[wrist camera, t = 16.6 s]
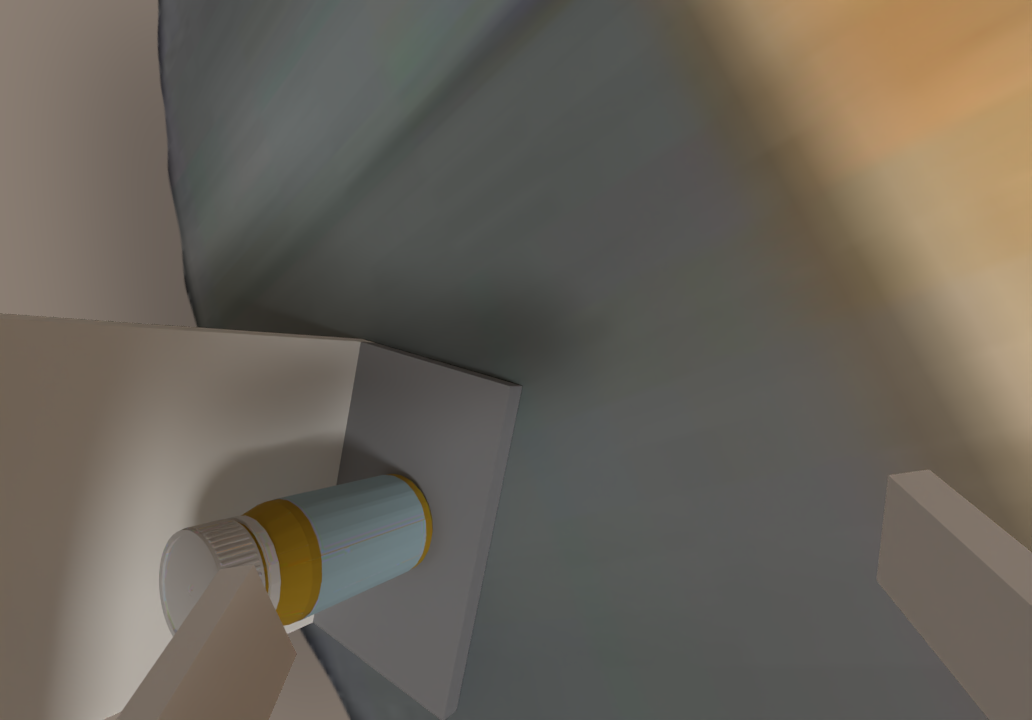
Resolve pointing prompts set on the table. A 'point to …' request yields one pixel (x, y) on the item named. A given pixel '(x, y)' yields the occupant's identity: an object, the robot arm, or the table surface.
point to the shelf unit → (223, 491)
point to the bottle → (304, 547)
